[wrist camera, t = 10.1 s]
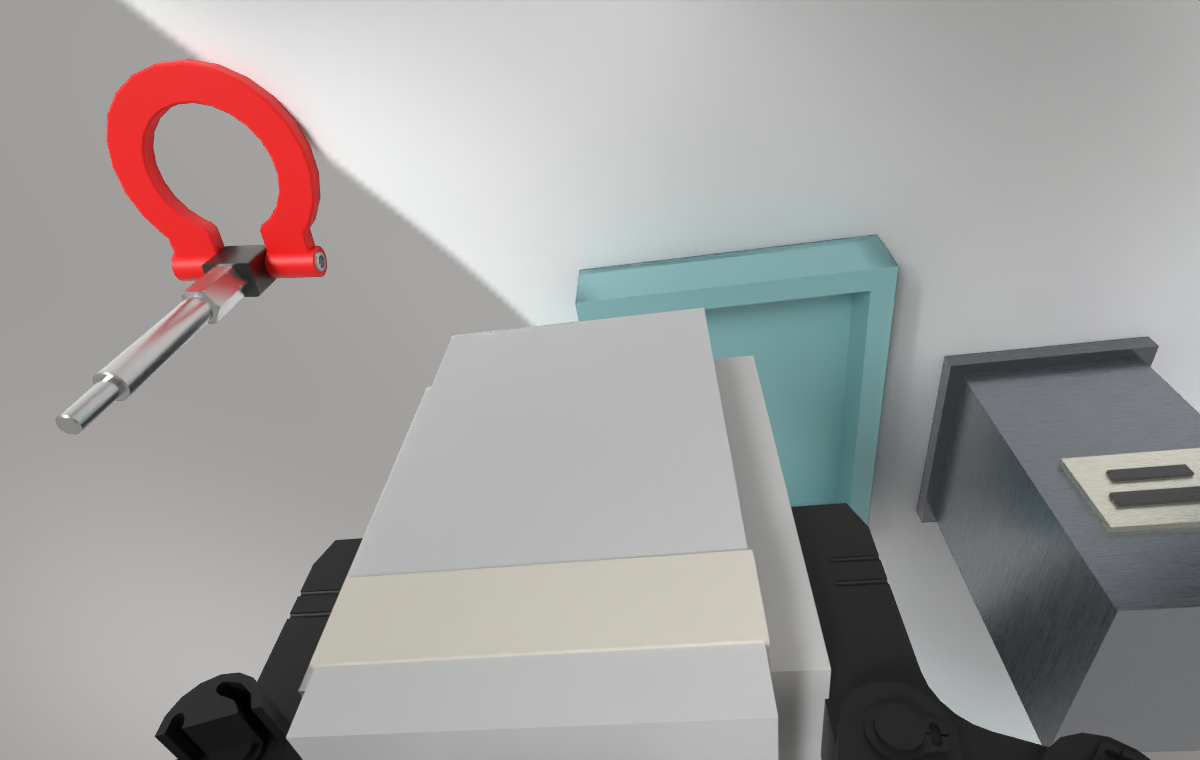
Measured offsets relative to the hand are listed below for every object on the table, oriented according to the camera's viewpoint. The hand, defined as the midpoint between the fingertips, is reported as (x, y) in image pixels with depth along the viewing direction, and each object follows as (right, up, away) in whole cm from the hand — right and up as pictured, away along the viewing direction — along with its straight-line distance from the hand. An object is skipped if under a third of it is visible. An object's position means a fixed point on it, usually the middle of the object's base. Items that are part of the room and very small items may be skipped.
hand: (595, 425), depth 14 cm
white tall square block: (0, 0, 0) cm, 1 cm away
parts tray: (+7, 0, +21) cm, 22 cm away
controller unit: (+22, -2, +22) cm, 31 cm away
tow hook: (-16, +10, +15) cm, 24 cm away
